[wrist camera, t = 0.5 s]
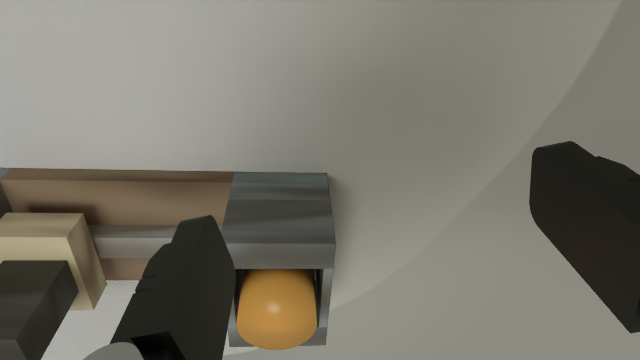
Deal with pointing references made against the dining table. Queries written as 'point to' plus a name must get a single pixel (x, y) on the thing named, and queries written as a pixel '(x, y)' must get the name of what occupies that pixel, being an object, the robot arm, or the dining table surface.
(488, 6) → the dining table surface
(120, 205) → the stand
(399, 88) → the dining table surface
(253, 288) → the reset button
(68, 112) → the dining table surface
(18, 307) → the carriage
